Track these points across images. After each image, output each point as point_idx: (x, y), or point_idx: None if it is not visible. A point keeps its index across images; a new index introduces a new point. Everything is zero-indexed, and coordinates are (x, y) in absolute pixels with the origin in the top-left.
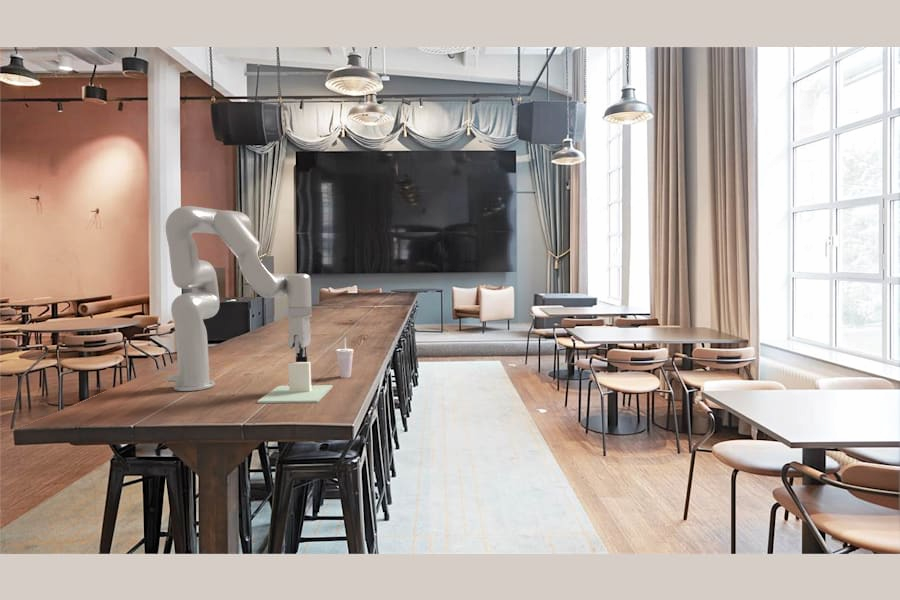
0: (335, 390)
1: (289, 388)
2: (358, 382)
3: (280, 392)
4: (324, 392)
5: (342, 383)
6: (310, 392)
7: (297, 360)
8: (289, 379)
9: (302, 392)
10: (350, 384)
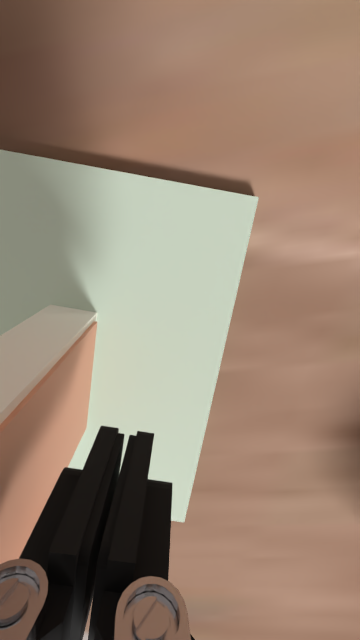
0: None
1: (40, 311)
2: (258, 610)
3: (31, 245)
4: None
5: (259, 551)
6: None
7: (69, 517)
8: (5, 335)
9: None
10: (223, 581)
